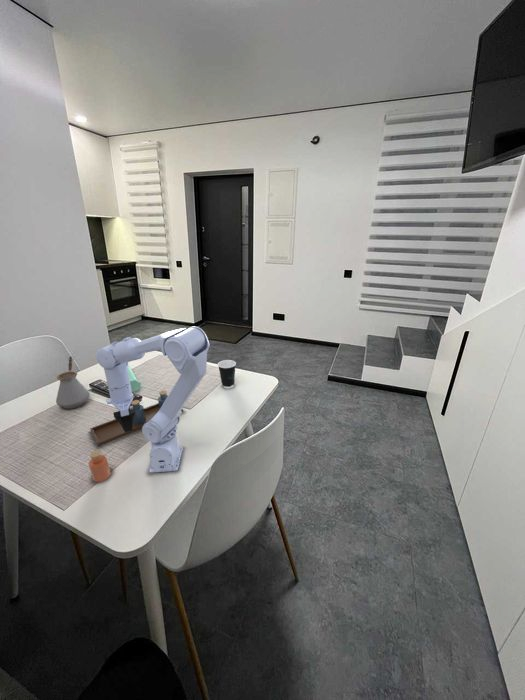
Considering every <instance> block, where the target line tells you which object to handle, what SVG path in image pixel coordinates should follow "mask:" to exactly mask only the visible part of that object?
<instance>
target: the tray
mask: <svg viewBox="0 0 525 700" xmlns="http://www.w3.org/2000/svg"><path fill="white" fill-rule="evenodd" d="M158 411H159V404H158V402H157V403H155V404H152V405H149V406H147V407H144V413H145V418H146V421H145V422H144V423H142V424H139V425H135V424H133V429H132V430H131V431H127V432H125V431H124V430H123V428H122V426H121V424H120V423H119V421H118V420H116V419H115V418H114V419H112V420H108V421H106V422H103V423H100V424H98V425H95V426H92V427H90V428H89V430H90V432H91V434H92V437H93V439H94V440H95V441H94V442H95V443H96V445H97V447H101V446H103V445H107V444H108V443H111V442H113V441H116V440H119V439H121V438H123V437H126V436H128V435H130V434H133V433H135V432H138V431H140V430H142V427H143V425H144V424H146V423H148V422H149V421H150V420H151V419H152V418H153V417H154V416H155V415H156V413H157V412H158ZM181 411H182V413H183V412H184V410H183V408H182V410H181Z"/></svg>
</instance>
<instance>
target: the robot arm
mask: <svg viewBox="0 0 525 700" xmlns="http://www.w3.org/2000/svg"><path fill="white" fill-rule="evenodd" d="M210 346H211V344H210V342H209V338H208V335H207V334H206V332H205V331H204V330H203V328H201V327H199V326H195V325H194V326H189V327H188V328H186V327H182V328H178V329H177V328H176V329H174V330H170V331H166V332H163V333H161V334H160V333H159V334H157V335H155V336H152V337H149V338H145V339H143V340H141V339H140V338H138V337H133V338H131V336H127V337H125V338H123V339H122V341H119V342H118V341H116V340H115V341H113V342H111V343H110V344H108V345H106V346H103V347H101V348H99V349H98V350H97V351H95V359H96V361H97V363H98V365H99V366H100V367H101V368H103V371H104V374H105V379H106V380H105V381H106V384H107V389H108V393H109V397H110V398H107V399H106V404H107V405H112V406H114V407H115V408H116V409H117V410H118V411H113V417H114V419H116V420H118V421H119V423H120V424H121V426H122V428H123V430H124V431H125V432H127V431H131V430H132V429H133V418H134V415H135V412H136V410H135V409H130V408H131V405H132V401H134V394H133V392H132V390H131V385H130V380H129V375H128V370H127V366H128V365H129V363H130V362H134V361H138V360H141V359H143V358H144V357H145V355H146V353H151V352H156V351H161V353H162V355H163V356H164V357H167V359H169V361H170V362H171V364H172V365H173V367H174V368H175V369H176V371H177V372H178V374H179V377H178V379H177V380H176V382H175V383H174V385H173V386H172V388H171V390H170V392H169V393H168V394H167V395H168V397H167V398H166V400H165V402H164V403H163V405H162V407H161V408H160V410H159V411H158V412H157V413H156V415H155V416H154V417H153V418H152V419H151V420H150V421H149V422H148V423H146V424H144V425H143V427H142V429H141V431H142V434H143V435H142V436H143V437H144V439H146V441H148V442H150V443H151V449H150V452H149V459H150V467H149V471H148V472H149V474H151V473H164V472H165V473H166V472H176V471H178V470H179V467H180V462H181V458H182V457H181V456H182V453H183V446H179V442H178V434H177V430H178V425H179V423H180V421H181V415H182V413H183V412H182V411H181V410H182V409H183V408H184V407H185V406H186V404H187V402H188V401H189V400H190V398H191V397H192V395H193V393H194V392H195V390H196V389H197V388H198V386H199V384H200V383H201V381H202V380H203V378H204V377H205V375H206V373H207V364H208V363H207V361H208V351H209V349H210Z"/></svg>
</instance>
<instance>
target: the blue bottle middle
mask: <svg viewBox="0 0 525 700" xmlns="http://www.w3.org/2000/svg"><path fill="white" fill-rule="evenodd" d="M140 403H141V402H140V400H138V399H135V400H134V399H133V400H132V402H131V406H130V409H135V410H136V412H135V415H134V418H133V424H135V425H139V424H142V423H144V422H145V421H146V418H145V413H144V408H145V407H144V405H142V404H140Z"/></svg>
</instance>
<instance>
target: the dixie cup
mask: <svg viewBox="0 0 525 700" xmlns="http://www.w3.org/2000/svg"><path fill="white" fill-rule="evenodd" d="M236 365H237V362H236V361H235V360H231V359H224V360H220V361H219V362H217V367H218V370H219V377H220V381H221V385H222V388H224V389H232V388H233V387H234V385H235V376H236Z"/></svg>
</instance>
